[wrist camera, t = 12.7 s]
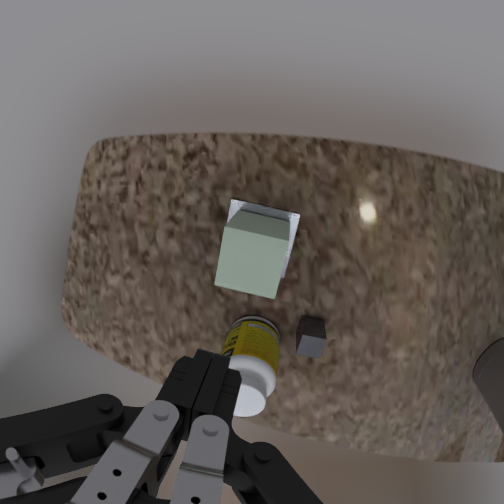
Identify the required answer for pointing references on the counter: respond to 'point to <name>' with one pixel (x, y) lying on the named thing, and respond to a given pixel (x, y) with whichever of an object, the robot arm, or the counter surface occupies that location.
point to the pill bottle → (253, 361)
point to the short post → (310, 337)
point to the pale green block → (253, 254)
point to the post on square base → (268, 212)
